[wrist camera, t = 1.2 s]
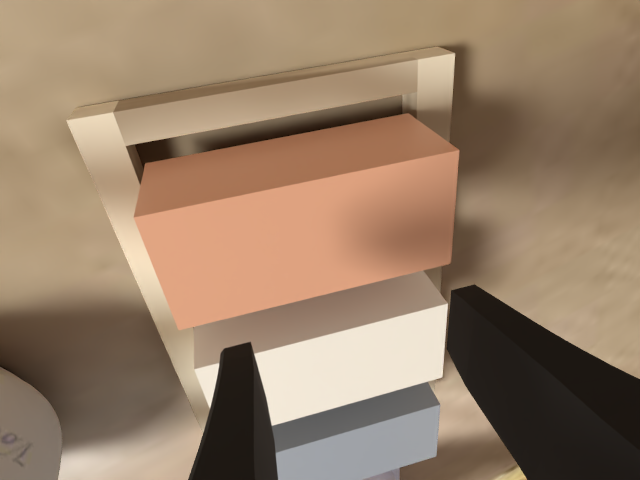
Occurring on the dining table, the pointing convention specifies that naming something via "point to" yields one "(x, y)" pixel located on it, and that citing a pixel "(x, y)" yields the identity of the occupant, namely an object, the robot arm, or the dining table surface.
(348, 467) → the grey rectangular block
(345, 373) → the ivory key
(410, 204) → the terracotta key
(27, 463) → the teacup
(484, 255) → the dining table surface
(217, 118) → the wooden tray
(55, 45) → the dining table surface
